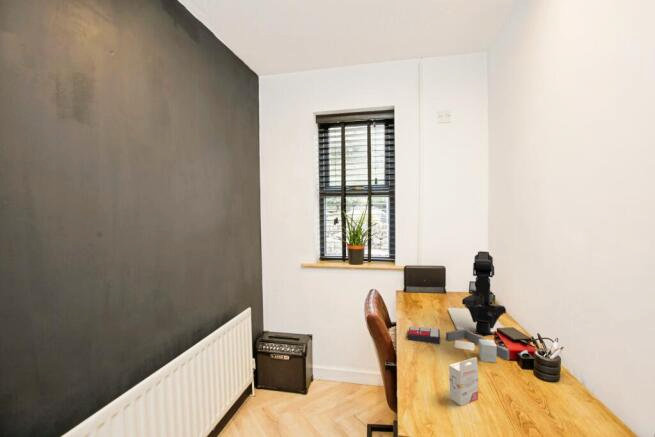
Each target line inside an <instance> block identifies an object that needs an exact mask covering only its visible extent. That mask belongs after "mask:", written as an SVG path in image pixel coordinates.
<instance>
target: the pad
mask: <svg viewBox="0 0 655 437" xmlns="http://www.w3.org/2000/svg"><path fill="white" fill-rule="evenodd" d="M454 342H455V343H454V348H455V349H459V350H466V351H471V352H475V343H473V342H471V341H465V340H464V341H463V340H460V339H458V340H454Z"/></svg>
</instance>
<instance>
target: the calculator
mask: <svg viewBox="0 0 655 437" xmlns="http://www.w3.org/2000/svg"><path fill="white" fill-rule="evenodd" d="M407 340H408V341H411V342H418V343H419V342H421V343H430V344H433V345H434V344H435V345H441V335H440V329H439V328H435V327H434V328H433V327H426V326H412V325H411V326H410V327H409V328H408V332H407Z"/></svg>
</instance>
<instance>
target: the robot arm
mask: <svg viewBox="0 0 655 437" xmlns="http://www.w3.org/2000/svg"><path fill="white" fill-rule="evenodd" d="M473 260H474V261H473V264H472V276H474V277H475V282H474V287H475V290H473V291H472V294H471V295H468V296H465V297H463V299H462V301H461V304H462V305H463V306H464V307H465V308H466V309H468V311H469V314H470V317H471V320H472V323H476V324H475V330H476V331H475V332H474V333H475V334H476V333H477V335H480V336H482V337H485V336H491V335H494V333H493V332H492V331H491V329H494V327H495V325H496V323H497V321H498V320H499V319H500V317H501V316H502V315H504V314H506V313H507V311H506V310H507V308H506V307H505V305H500V304H493V301H491V296H493V292H492V291H491V279H490V278H493V276H495V266H494V263H493V262H494V258H493V256H492V255H490V252H489V251H484V250H483V251H481V250H480V251H477V254H475V255H474V259H473Z"/></svg>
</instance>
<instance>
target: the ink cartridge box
mask: <svg viewBox="0 0 655 437" xmlns="http://www.w3.org/2000/svg"><path fill="white" fill-rule="evenodd" d="M448 367H449V368H448V369H449V375H448V378H449V379H448V380H449V381H448V382H449V399H450V400H452V401H453V402H455V403H456V404H457V405H459V406H464V405H466V404H469V403H471V402H474V401H477V400H478V399H479V367H478V358H477V357H476V356H475V357H472V358H468V359H465V360H462V361H459V362H455V363H452V364H449V365H448Z"/></svg>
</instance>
